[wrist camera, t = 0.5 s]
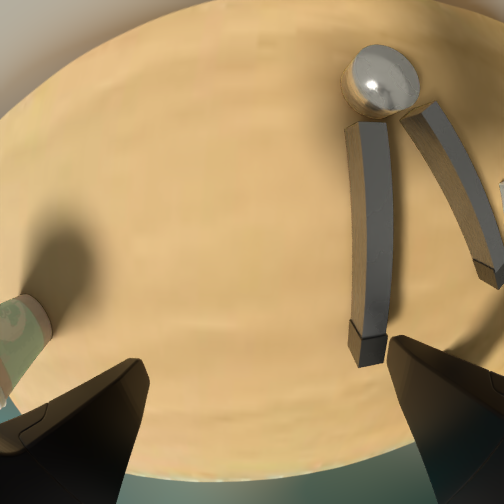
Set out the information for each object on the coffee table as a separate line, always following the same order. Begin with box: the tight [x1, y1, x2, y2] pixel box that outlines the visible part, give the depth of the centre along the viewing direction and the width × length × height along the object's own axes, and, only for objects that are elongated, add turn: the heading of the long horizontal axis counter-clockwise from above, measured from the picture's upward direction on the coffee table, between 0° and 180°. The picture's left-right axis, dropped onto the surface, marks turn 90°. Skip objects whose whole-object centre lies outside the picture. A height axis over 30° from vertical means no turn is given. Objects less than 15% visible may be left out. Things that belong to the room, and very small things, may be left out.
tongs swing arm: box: [341, 45, 420, 368], centre depth 16 cm, size 21×5×3 cm, turn 6°
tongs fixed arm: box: [399, 101, 504, 290], centre depth 16 cm, size 16×2×3 cm, turn 41°
